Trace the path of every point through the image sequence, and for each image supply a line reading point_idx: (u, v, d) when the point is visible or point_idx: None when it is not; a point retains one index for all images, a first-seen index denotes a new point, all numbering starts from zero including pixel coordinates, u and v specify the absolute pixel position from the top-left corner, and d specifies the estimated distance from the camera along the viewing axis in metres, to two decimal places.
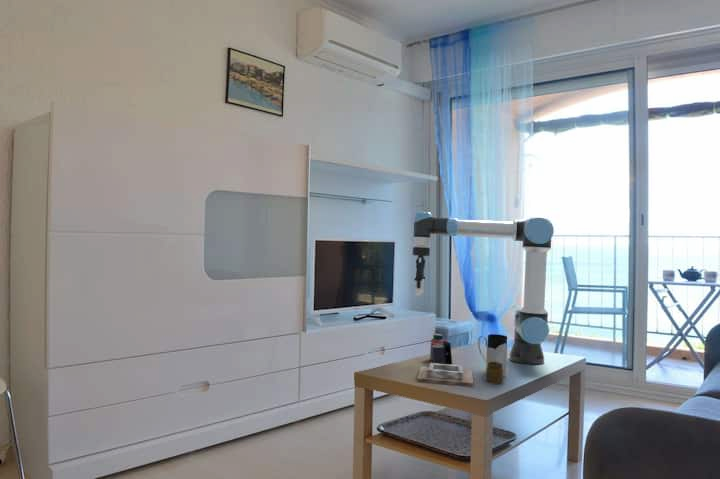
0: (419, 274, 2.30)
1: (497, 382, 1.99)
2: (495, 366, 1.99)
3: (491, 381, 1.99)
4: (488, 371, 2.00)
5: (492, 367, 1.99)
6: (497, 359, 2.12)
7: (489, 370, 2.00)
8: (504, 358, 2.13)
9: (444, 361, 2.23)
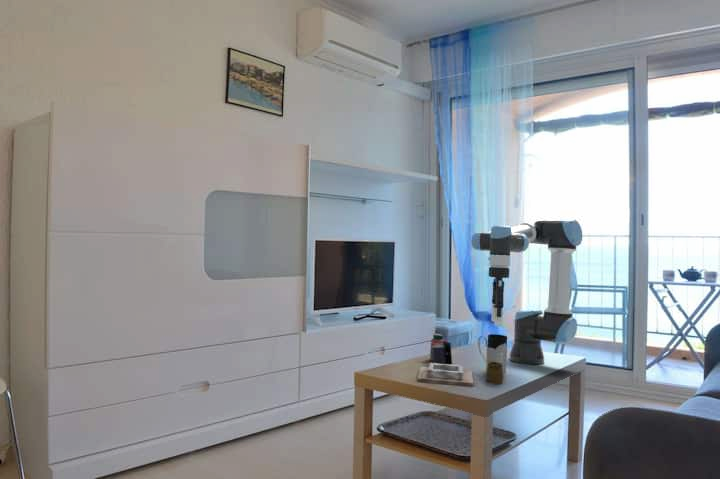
0: (500, 300, 1.92)
1: (497, 382, 1.99)
2: (495, 366, 1.99)
3: (491, 381, 1.99)
4: (488, 371, 2.00)
5: (492, 367, 1.99)
6: (497, 359, 2.12)
7: (489, 370, 2.00)
8: (504, 358, 2.13)
9: (444, 361, 2.23)
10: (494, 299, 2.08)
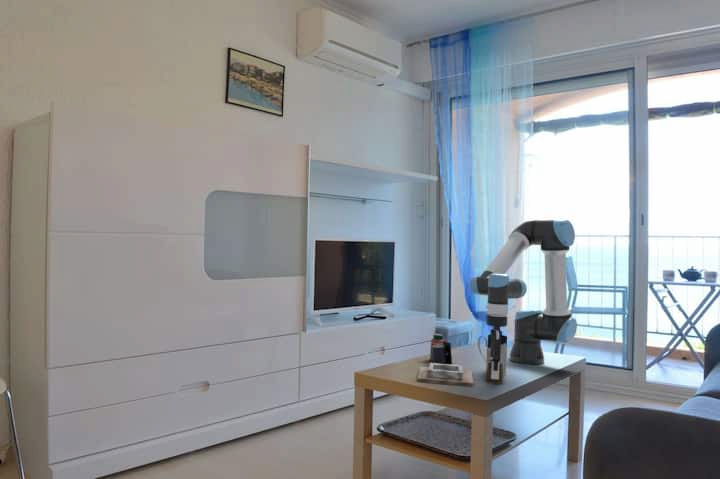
0: (497, 355, 1.95)
1: (497, 382, 1.99)
2: None
3: (491, 381, 1.99)
4: (488, 371, 2.00)
5: None
6: None
7: (489, 370, 2.00)
8: (504, 358, 2.13)
9: (444, 361, 2.23)
10: (492, 351, 2.05)
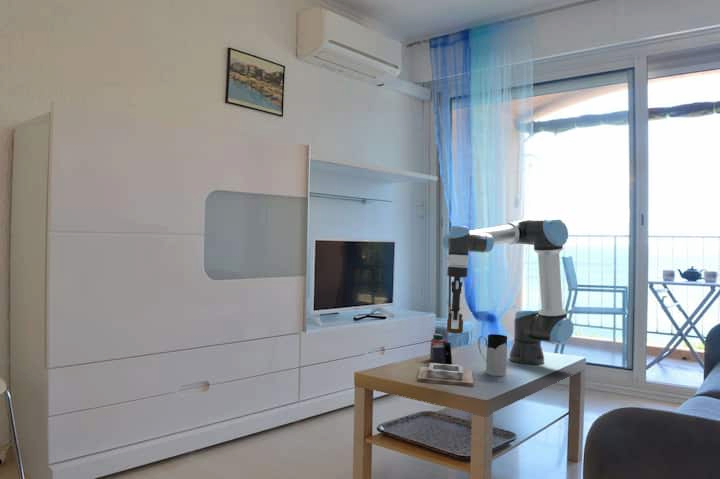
0: (456, 304, 1.98)
1: (457, 332, 2.01)
2: None
3: (451, 331, 2.02)
4: (448, 321, 2.03)
5: None
6: (497, 359, 2.12)
7: (449, 320, 2.02)
8: (504, 358, 2.13)
9: (444, 361, 2.23)
10: None
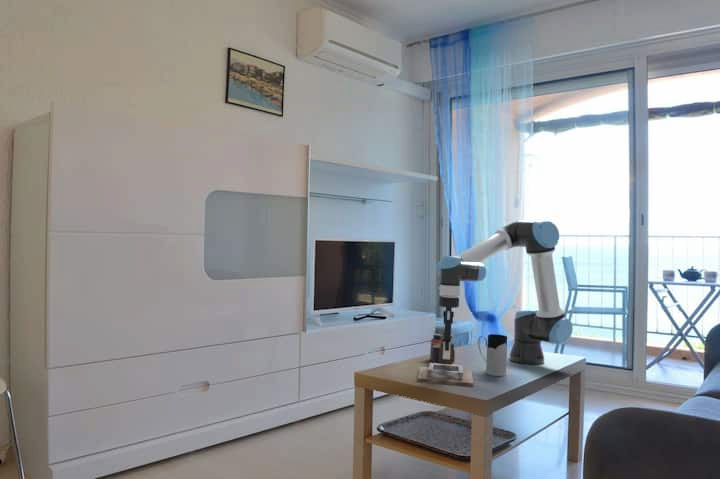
0: (448, 335, 1.98)
1: (449, 362, 2.02)
2: None
3: (443, 361, 2.02)
4: (440, 351, 2.03)
5: None
6: (497, 359, 2.12)
7: (441, 350, 2.03)
8: (504, 358, 2.13)
9: None
10: None
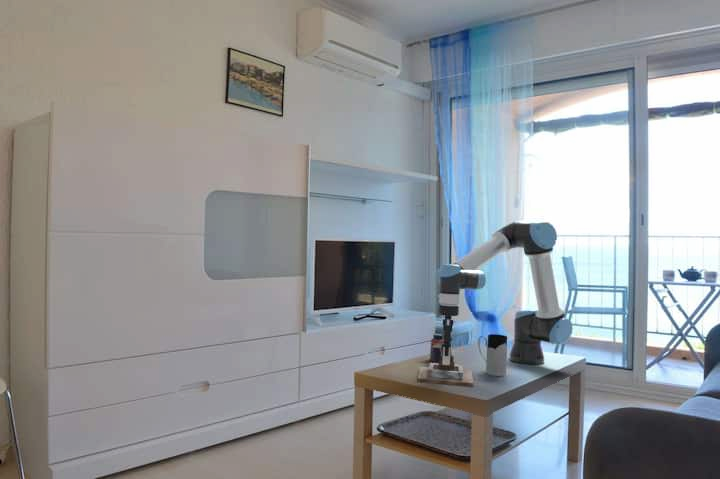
0: (447, 340, 1.95)
1: None
2: None
3: None
4: (440, 364, 2.03)
5: None
6: (497, 359, 2.12)
7: (440, 363, 2.03)
8: (504, 358, 2.13)
9: None
10: None
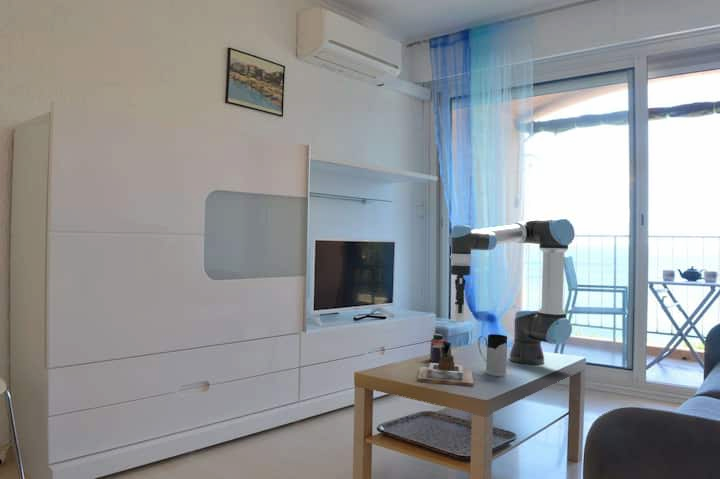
0: (461, 297, 2.01)
1: None
2: (446, 359, 2.02)
3: None
4: (440, 364, 2.03)
5: (443, 360, 2.02)
6: (497, 359, 2.12)
7: (440, 363, 2.03)
8: (504, 358, 2.13)
9: None
10: None
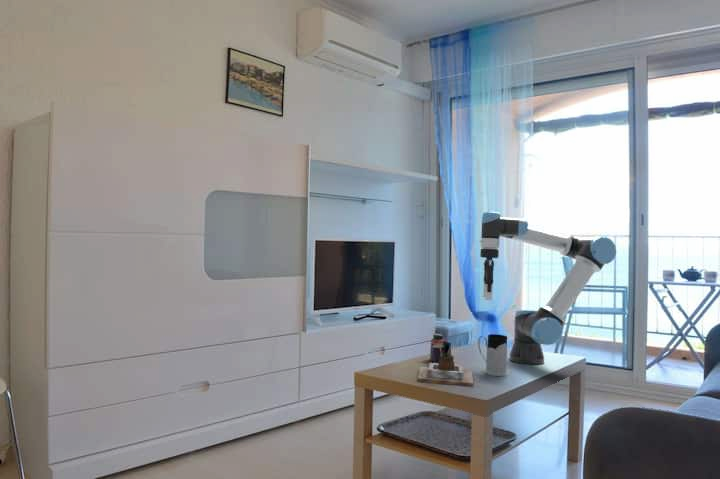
0: (490, 277, 2.18)
1: None
2: (446, 359, 2.02)
3: None
4: (440, 364, 2.03)
5: (443, 360, 2.02)
6: (497, 359, 2.12)
7: (440, 363, 2.03)
8: (504, 358, 2.13)
9: None
10: (485, 277, 2.34)
